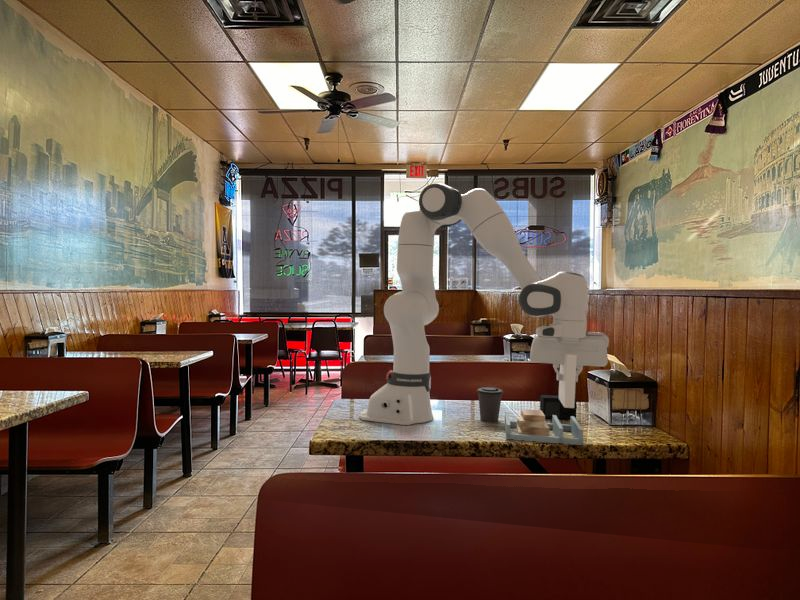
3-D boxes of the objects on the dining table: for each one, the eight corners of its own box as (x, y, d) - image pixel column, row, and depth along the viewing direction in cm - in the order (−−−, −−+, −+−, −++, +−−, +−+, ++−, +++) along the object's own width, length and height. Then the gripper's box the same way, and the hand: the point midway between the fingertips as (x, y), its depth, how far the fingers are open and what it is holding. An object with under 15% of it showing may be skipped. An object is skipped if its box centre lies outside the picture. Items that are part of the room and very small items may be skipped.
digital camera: (543, 420, 158) (544, 398, 158) (539, 416, 164) (540, 394, 164) (577, 421, 158) (578, 399, 158) (572, 417, 163) (572, 395, 163)
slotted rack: (506, 439, 136) (506, 424, 136) (504, 425, 151) (505, 412, 151) (582, 445, 132) (583, 429, 132) (573, 430, 147) (574, 416, 147)
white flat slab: (564, 407, 135) (566, 354, 134) (558, 398, 147) (560, 349, 146) (574, 408, 134) (576, 355, 134) (567, 399, 146) (569, 350, 146)
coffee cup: (502, 424, 152) (503, 390, 152) (475, 422, 154) (476, 389, 154) (502, 418, 160) (503, 386, 160) (476, 416, 162) (477, 384, 162)
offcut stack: (518, 437, 138) (518, 415, 138) (516, 428, 148) (516, 407, 148) (549, 440, 136) (550, 417, 136) (545, 430, 146) (546, 409, 146)
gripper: (606, 331, 141) (604, 381, 142) (530, 327, 145) (528, 376, 145) (611, 333, 135) (609, 385, 135) (532, 329, 139) (530, 380, 139)
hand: (567, 380), depth 140 cm, fingers closed on white flat slab, 2 cm apart
